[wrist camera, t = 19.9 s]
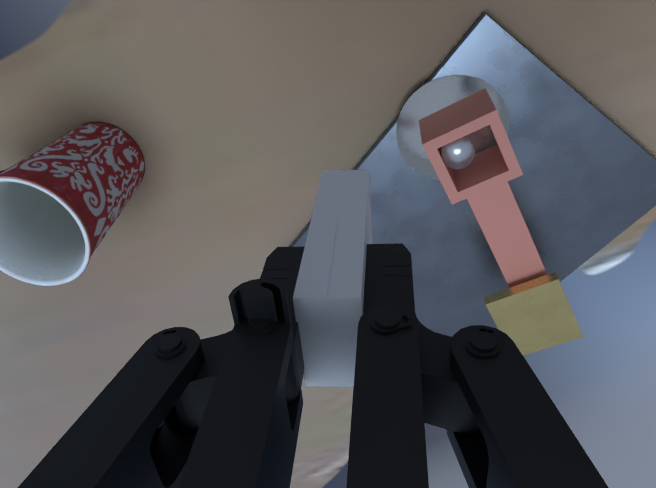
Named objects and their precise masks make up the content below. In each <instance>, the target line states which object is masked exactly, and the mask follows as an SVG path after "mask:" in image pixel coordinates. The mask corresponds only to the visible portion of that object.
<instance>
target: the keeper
mask: <svg viewBox="0 0 656 488" xmlns="http://www.w3.org/2000/svg"><path fill="white" fill-rule="evenodd" d="M484 300H485V304H486V306H487V308H488V310H489V312H490V314H491V316H492V318H493V320H494V322H495V324H496V326H497V328H498V330H500V331H502V332H504V333H506V334H507V335H508V336H509V337H510V338H511V339H512V340H513V341H514V343H515V344H516V346H517V347H518V349H519V351H520V352H521V354H522V355H526V354H530V353H533V352H536V351H539V350H543V349H546V348H549V347H552V346H555V345H558V344H562V343H565V342H569V341H571V340H575V339H578V338H581V337H583V335H582V333H581V331H580V328H579V326H578V323H577V321H576V319H575V317H574V314H573V312H572V309H571V307H570V304H569V302H568V300H567V298H566V295H565V293H564V290H563V288H562V286H561V283H560V281H559V279H558V276H557V274H556V272H553V273H550V274H548V275H545V276H542V277H539V278H536V279H533V280H531V281H528V282H525V283H522V284H519V285H517V286H514V287H511V288H508V289H505V290H502V291H500V292H497V293H494V294H491V295H488V296H486V297H484Z"/></svg>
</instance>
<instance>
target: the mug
mask: <svg viewBox="0 0 656 488" xmlns="http://www.w3.org/2000/svg"><path fill="white" fill-rule="evenodd" d="M144 170H145V167H144V159H143V155H142V153H141V151H140V149H139V147H138V145H137V144H136V143H135V142H134V140H133V139H132V138H131V137H130V136H129V135H128V134H127V133H125V132H124V131H122V130H121V129H119V128H117V127H115V126H113V125H110V124H105V123H101V122H92V123H87V124H83V125H81V126H79V127H77V128H75V129H73V130H72V131H70V132H69V133H67V134H65V135H64V136H62V137H60V138H59V139H57V140H55V141H54V142H52V143H50V144H49V145H47V146H45V147H44V148H42V149H41V150H39V151H37V152H36V153H34V154H32V155H31V156H29V157H27V158H25V159H23V160H22V161H20V162H19V163H17V164H15V165H13V166H11V167H10V168H8V169H6V170H3V171H0V270H1V271H2V272H4V273H6V274H7V275H9V276H11V277H13V278H16V279H18V280H21V281H24V282H27V283H31V284H35V285H44V286H53V285H60V284H64V283H67V282H70V281H72V280H74V279H76V278H77V277H78V276H80V275H81V274H82V273H83V271H84V270H85V269H86V267H87V265H88V263H89V260H90V257H91V255H92V254H93V252H94V251H95V249H96V248H97V246H98V245H99V244H100V242H101V241H102V239H103V238H104V236H105V234H106V233H107V231H108V230H109V229H110V227H111V226H112V224H113V223H114V221H115V220H116V219H117V217H118V216H119V215H120V212H121V211H122V210H123V208H124V207H125V205H126V204H127V202H128V201H129V199H130V198H131V196H132V195H133V193H134V192H135V191H136V189H137V188H138V186H139V184H140V183H141V181H142V178H143V175H144Z"/></svg>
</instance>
